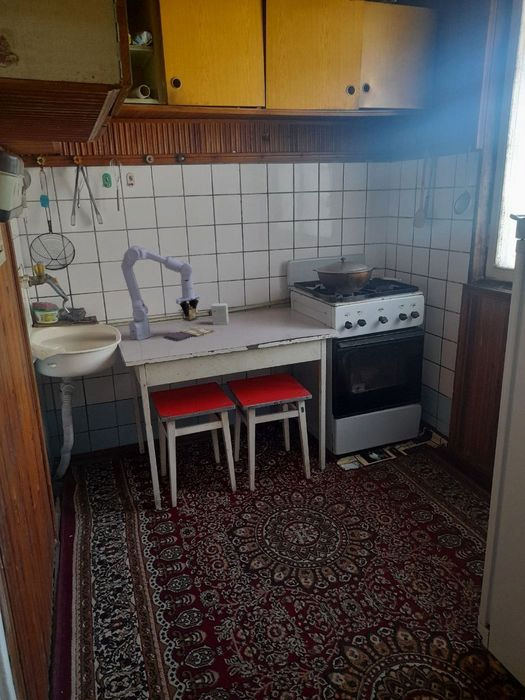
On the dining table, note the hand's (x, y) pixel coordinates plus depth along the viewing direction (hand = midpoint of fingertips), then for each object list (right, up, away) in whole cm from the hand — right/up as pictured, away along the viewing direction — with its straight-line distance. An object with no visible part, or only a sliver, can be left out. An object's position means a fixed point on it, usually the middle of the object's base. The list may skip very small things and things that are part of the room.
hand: (190, 315), depth 245 cm
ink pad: (-5, -11, -2) cm, 13 cm away
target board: (+3, -8, +5) cm, 10 cm away
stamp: (0, -2, +1) cm, 2 cm away
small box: (+14, -3, +21) cm, 25 cm away
